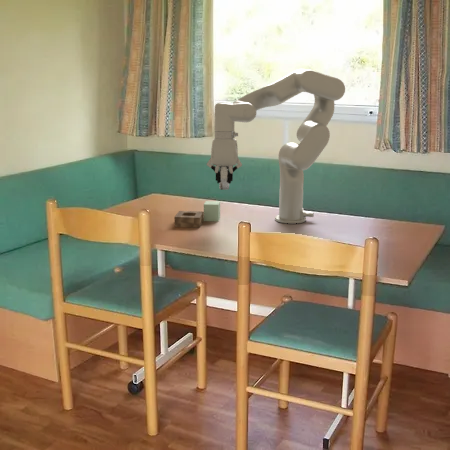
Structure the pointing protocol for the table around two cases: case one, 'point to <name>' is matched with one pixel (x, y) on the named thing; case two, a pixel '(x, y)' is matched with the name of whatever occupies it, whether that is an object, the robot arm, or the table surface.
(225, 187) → the metal peg
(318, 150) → the robot arm
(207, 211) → the green block
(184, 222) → the socket block
